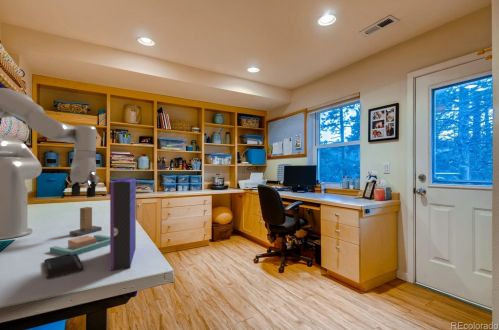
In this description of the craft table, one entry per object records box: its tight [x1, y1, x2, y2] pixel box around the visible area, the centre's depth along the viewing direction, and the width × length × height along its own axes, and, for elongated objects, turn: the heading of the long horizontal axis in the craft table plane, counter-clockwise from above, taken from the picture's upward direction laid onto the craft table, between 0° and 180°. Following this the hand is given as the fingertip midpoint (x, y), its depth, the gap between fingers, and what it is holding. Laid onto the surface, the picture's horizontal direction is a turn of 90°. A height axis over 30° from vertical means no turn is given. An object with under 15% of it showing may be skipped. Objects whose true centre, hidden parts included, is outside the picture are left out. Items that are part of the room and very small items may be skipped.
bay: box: [49, 234, 110, 256], centre depth 84 cm, size 11×16×2 cm
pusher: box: [69, 206, 103, 238], centre depth 101 cm, size 10×5×11 cm, turn 157°
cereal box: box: [109, 177, 137, 272], centre depth 74 cm, size 17×5×24 cm, turn 21°
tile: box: [67, 235, 97, 250], centre depth 84 cm, size 6×6×3 cm
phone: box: [43, 254, 84, 280], centre depth 68 cm, size 8×1×15 cm
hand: (83, 195), depth 101 cm, fingers open, 9 cm apart
